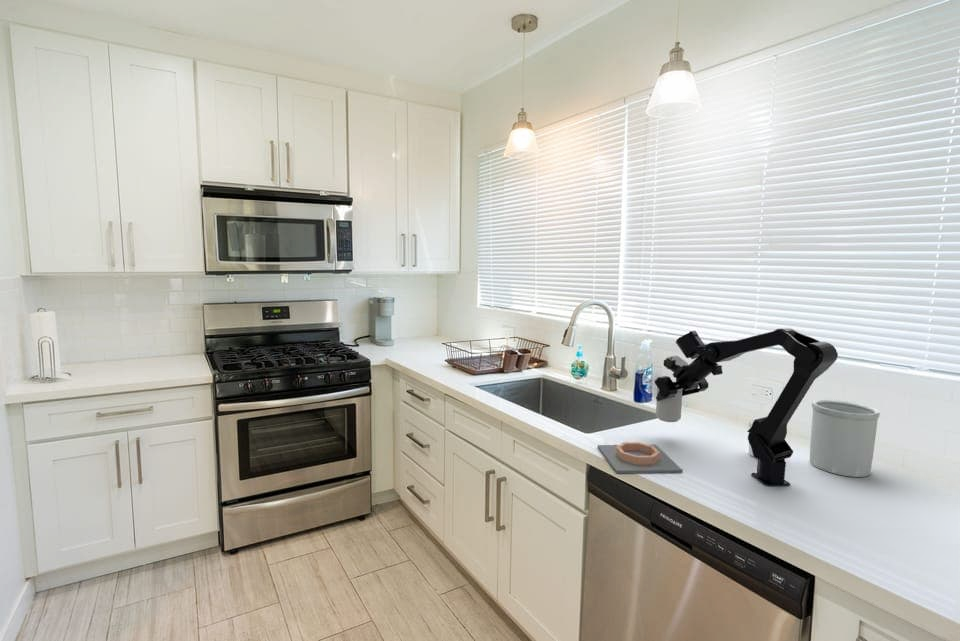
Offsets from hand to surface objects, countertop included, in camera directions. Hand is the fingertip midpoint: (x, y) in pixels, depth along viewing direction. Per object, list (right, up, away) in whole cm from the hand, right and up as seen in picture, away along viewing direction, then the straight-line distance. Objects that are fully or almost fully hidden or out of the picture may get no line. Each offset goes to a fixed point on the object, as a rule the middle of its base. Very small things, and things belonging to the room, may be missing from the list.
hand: (665, 398), depth 153 cm
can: (+1, -7, 0) cm, 7 cm away
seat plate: (-14, -15, -16) cm, 26 cm away
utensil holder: (+41, -16, -19) cm, 48 cm away
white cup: (+24, -15, -12) cm, 31 cm away
